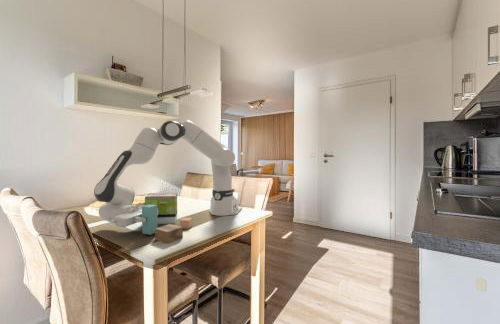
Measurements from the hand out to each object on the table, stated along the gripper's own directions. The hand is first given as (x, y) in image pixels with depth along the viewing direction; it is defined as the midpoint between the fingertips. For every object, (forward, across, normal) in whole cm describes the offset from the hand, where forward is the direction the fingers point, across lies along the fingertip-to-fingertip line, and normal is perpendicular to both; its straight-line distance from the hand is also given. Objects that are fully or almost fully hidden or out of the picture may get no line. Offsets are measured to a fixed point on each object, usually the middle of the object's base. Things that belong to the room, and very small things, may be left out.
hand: (151, 217), depth 108 cm
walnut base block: (+10, 0, +8) cm, 13 cm away
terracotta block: (+7, +16, +8) cm, 19 cm away
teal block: (-1, 0, +7) cm, 7 cm away
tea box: (-10, +18, +8) cm, 22 cm away
